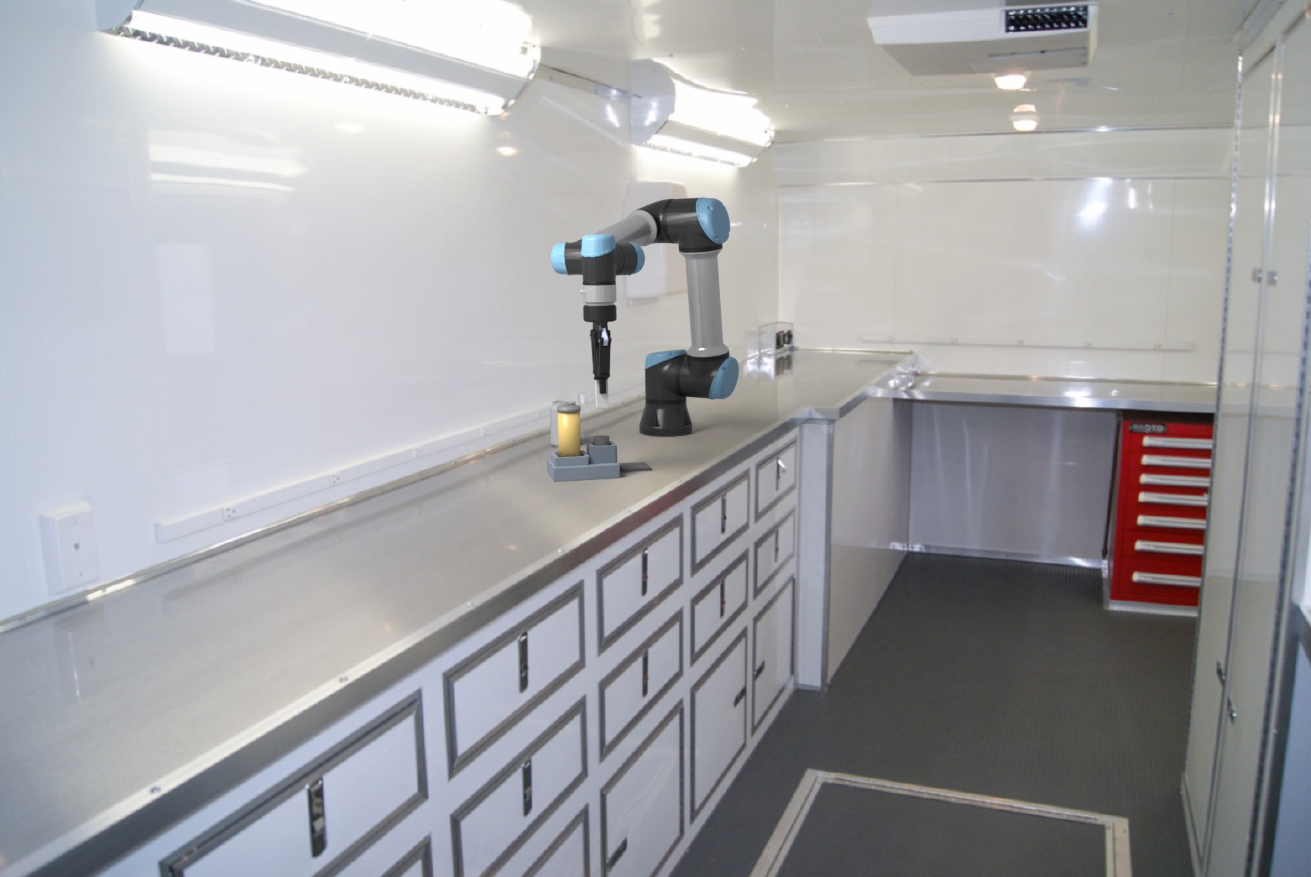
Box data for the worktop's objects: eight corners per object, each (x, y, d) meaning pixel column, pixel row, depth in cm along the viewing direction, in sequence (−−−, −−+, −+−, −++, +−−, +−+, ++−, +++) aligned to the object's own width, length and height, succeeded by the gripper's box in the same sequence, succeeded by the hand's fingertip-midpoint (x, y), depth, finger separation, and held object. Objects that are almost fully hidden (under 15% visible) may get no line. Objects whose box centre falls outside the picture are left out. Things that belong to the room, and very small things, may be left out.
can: (581, 443, 277) (580, 399, 275) (576, 448, 270) (575, 403, 267) (553, 443, 278) (552, 398, 275) (548, 448, 270) (547, 403, 268)
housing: (610, 467, 246) (610, 439, 245) (620, 477, 235) (619, 447, 234) (547, 471, 242) (546, 442, 241) (554, 481, 232) (553, 451, 231)
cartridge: (579, 459, 241) (578, 404, 239) (583, 464, 236) (582, 407, 233) (556, 460, 240) (555, 405, 237) (559, 465, 234) (558, 408, 232)
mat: (644, 464, 250) (644, 461, 250) (651, 470, 243) (651, 467, 243) (616, 465, 248) (616, 463, 248) (622, 471, 242) (622, 469, 242)
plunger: (607, 456, 241) (607, 435, 241) (611, 459, 238) (610, 437, 237) (592, 457, 241) (592, 435, 240) (595, 460, 237) (595, 438, 236)
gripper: (578, 302, 238) (581, 403, 243) (588, 306, 226) (591, 412, 230) (610, 301, 240) (612, 401, 245) (622, 305, 228) (624, 410, 232)
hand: (602, 407), depth 238 cm, fingers closed
